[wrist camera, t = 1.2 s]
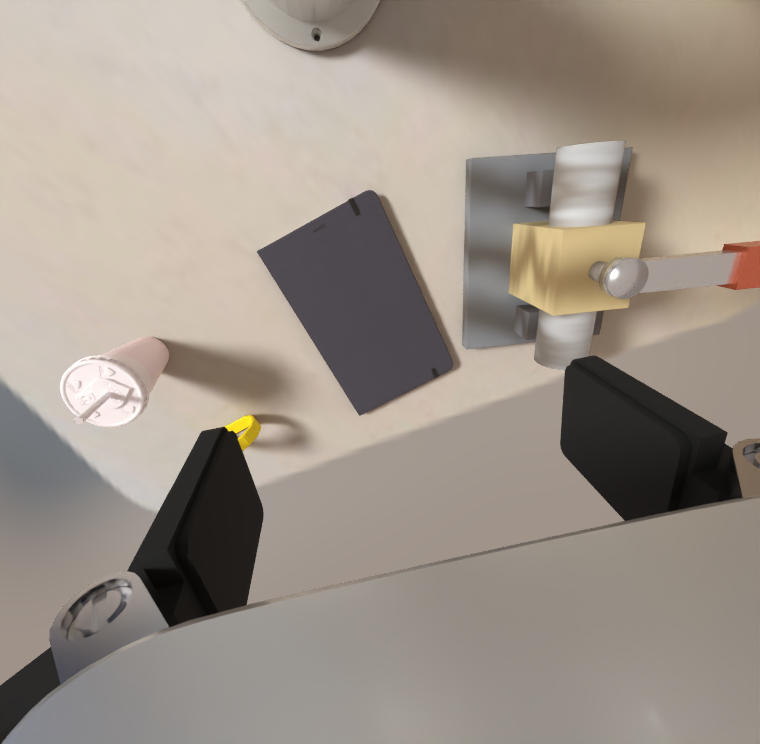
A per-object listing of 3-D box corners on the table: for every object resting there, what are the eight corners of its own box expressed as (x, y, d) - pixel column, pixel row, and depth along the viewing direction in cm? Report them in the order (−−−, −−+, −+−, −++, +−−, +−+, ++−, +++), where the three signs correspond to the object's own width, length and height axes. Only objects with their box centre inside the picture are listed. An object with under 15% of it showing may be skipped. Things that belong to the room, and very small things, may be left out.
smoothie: (192, 372, 42) (135, 447, 29) (134, 386, 42) (52, 467, 29) (167, 317, 39) (92, 373, 27) (104, 332, 39) (-1, 395, 27)
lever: (592, 297, 31) (609, 303, 29) (599, 255, 30) (617, 259, 28) (766, 279, 32) (793, 283, 30) (780, 238, 31) (809, 241, 29)
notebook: (259, 249, 38) (358, 409, 47) (256, 251, 37) (359, 416, 46) (371, 186, 37) (451, 362, 46) (373, 186, 36) (455, 367, 45)
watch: (226, 442, 47) (210, 475, 41) (212, 425, 45) (193, 457, 40) (268, 422, 46) (257, 453, 40) (255, 404, 45) (241, 434, 39)
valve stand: (466, 159, 37) (528, 142, 26) (621, 149, 38) (745, 128, 27) (462, 344, 45) (508, 393, 34) (591, 330, 46) (677, 372, 35)
